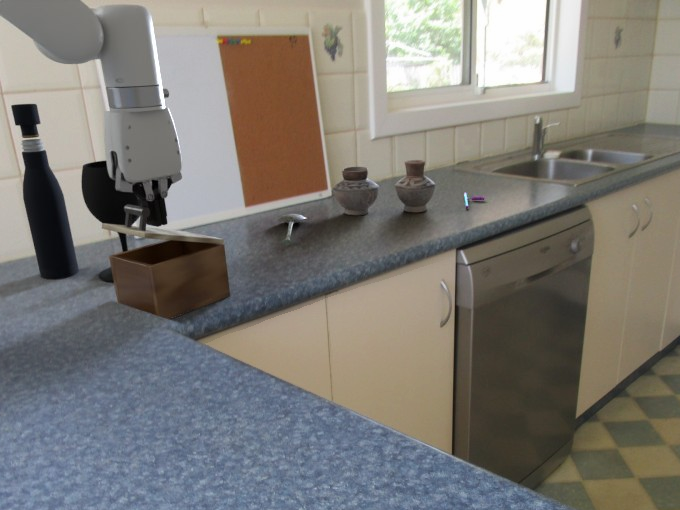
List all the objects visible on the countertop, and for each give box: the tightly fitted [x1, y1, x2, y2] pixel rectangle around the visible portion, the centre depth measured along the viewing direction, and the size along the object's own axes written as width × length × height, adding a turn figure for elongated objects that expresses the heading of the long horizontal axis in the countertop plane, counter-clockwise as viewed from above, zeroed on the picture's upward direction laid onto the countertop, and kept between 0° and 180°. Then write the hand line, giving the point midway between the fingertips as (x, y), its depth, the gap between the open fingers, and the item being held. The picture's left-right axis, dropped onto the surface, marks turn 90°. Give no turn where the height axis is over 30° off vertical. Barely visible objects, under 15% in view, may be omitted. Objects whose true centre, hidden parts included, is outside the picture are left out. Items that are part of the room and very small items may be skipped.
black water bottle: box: [10, 103, 80, 280], centre depth 117 cm, size 6×6×30 cm
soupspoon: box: [277, 213, 307, 247], centre depth 145 cm, size 22×3×7 cm
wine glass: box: [80, 160, 142, 283], centre depth 118 cm, size 10×10×20 cm
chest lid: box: [101, 204, 225, 245], centre depth 103 cm, size 14×11×4 cm
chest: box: [108, 240, 231, 320], centre depth 105 cm, size 14×11×9 cm
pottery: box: [332, 159, 436, 216], centre depth 161 cm, size 11×25×12 cm, turn 97°
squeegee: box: [463, 192, 485, 209], centre depth 170 cm, size 15×1×5 cm
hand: (156, 224), depth 101 cm, fingers closed
